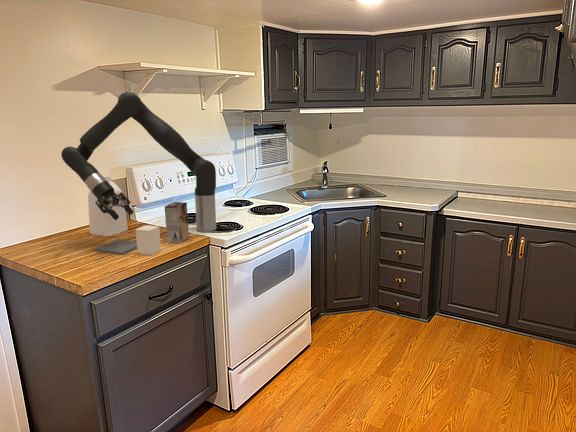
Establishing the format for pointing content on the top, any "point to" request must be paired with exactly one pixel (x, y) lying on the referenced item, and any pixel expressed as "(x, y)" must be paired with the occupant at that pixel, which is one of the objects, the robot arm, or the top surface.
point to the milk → (106, 216)
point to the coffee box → (176, 222)
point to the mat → (118, 247)
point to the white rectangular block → (148, 239)
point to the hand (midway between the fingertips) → (124, 216)
